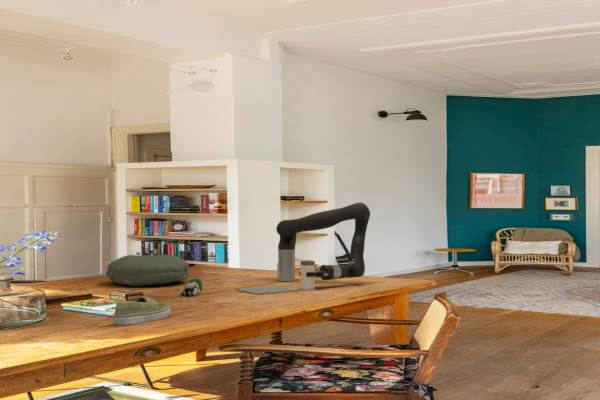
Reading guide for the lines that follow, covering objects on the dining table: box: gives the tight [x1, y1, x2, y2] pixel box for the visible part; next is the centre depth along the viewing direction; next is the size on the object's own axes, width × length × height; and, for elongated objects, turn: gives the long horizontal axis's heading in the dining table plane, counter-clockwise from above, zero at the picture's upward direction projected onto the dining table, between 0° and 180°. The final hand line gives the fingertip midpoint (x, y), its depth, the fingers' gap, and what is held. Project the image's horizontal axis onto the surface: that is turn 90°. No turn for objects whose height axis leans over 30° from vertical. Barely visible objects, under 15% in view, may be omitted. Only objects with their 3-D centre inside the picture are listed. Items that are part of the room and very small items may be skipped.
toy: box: [179, 277, 203, 298], centre depth 344 cm, size 9×7×15 cm
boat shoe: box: [113, 295, 172, 326], centre depth 275 cm, size 10×29×9 cm, turn 155°
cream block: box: [300, 259, 316, 291], centre depth 366 cm, size 5×5×14 cm
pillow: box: [105, 254, 190, 287], centre depth 388 cm, size 43×15×41 cm
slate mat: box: [235, 285, 300, 296], centre depth 360 cm, size 20×24×1 cm
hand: (303, 274), depth 365 cm, fingers closed on cream block, 5 cm apart
